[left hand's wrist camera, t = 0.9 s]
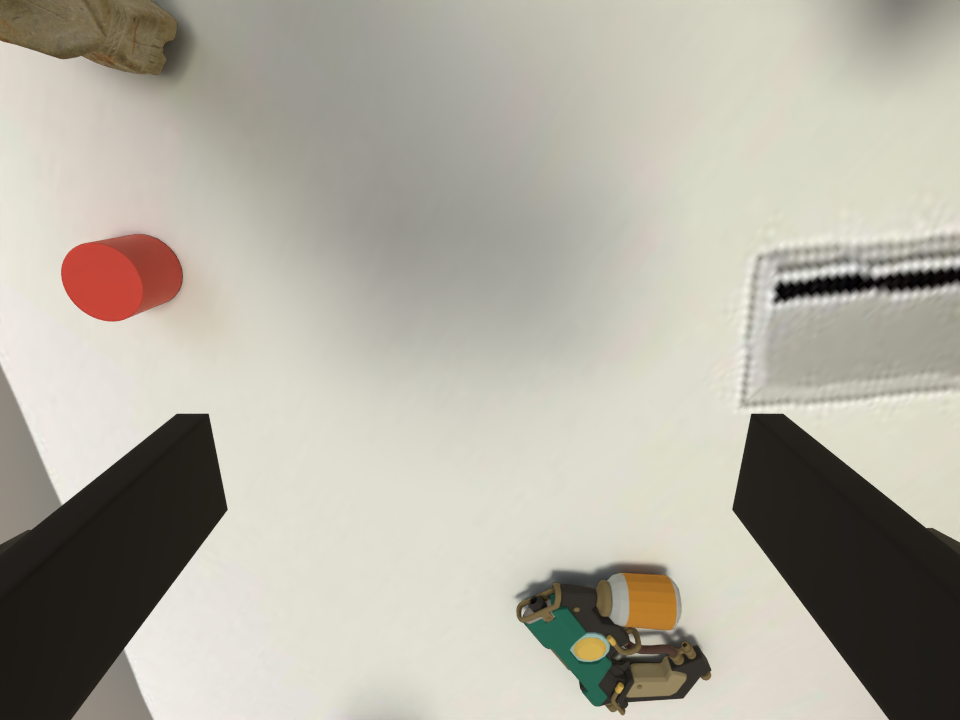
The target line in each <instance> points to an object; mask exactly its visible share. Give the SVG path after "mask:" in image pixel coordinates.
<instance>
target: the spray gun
mask: <svg viewBox="0 0 960 720" xmlns="http://www.w3.org/2000/svg"><path fill="white" fill-rule="evenodd" d="M554 592H555V595H554V594H552V593H554ZM550 594H552V595H550ZM548 595H550V599H549V598H548ZM528 604H529V608H527V609H526V611H525V612H524V614H523V617H521V610H522V608H523V607H524V606H525V605H528ZM595 606H596V607H597V608H598V611H599V612H598V611H597V610H596V609H595ZM680 617H681V598H680V593H679V589H678V587H677V585H676V584H675V583H674V581H673V580H672V579H671V578H669V577H668V576H666V575H653V574H634V573H618V574H614V575H612V576H611V577H610V578H609V579H608V580H607V581H606V580H601V581H599V583H598V586H597V587H596V589H593V588H590V587H582V586H574V585H566V584H559V583H553V587H552V588H551V589H549V590H546V591H544V592H542V593H540V594H537V595H535V596H533V597H531V598H528V599H526V600H524V601H522V602H520V603H519V604H518V606H517V618H518V619H519V620H520V621H521V622H522V623H524V624H525V625H526V626H527V628H528V629H529V630H530V631H531V632H532V633H533V635H534V636H535V637H536V638H537V639H538V641H539V642H540V643H541V644H542V645H543V646H544V647H545V648H547V649H551V650H552V651H553V653H554V654H555V655H556V656H557V657H558V658H559V660H560V661H561V662H562V663H563V664H564V665H565V666H566V668H567V669H568V670H571V671H572V673H573V674H574V675H575V676H576V677H577V679H578V680H579V684H580V689H581V690H582V692H583V694H584V695H585V696H586V697H587V699H588V700H589V701H590V702H591V703H592V704H593V705H594V706H602V705H606V707H607V708H608V709H609V710H610V711H611V712H615V711H617V710H618V711H619V712H620V714H621V715H624V714H625V708H626V707H627V706H628V702H637V701H652V700H667V699H682V698H684V697H685V695H686V694H687V693H688V692H689V690H690V689H691V688H692V687H693V685H694V684H695V683H696V682H697V680H698V679H699V678H700V677H701V678H702V679H703V680H709V679H710V678H711V673H710V671H711V668H710V666H709V663H708V661H707V658H706V657H705V655H704V654H703V653H702V651H701V650H700V648H699V647H698V645H696V646H693V647H692V646H691V644H690V643H688V642H686V641H683V642H682V643H681V648H680V649H677V648H676V647H672V646H669V645H663V644H662V645H641V640H640V636H639V634H638V632H637V629H635V628H645V629H657V630H672V629H674V628H675V626H676V625H677V623H678V621H679V620H680ZM623 627H629V628H627V629H624V628H623ZM632 627H633V628H632ZM630 633H633V635H634V638H635V642H636V644H634V643H632V642H630V640H629V636H628V634H630ZM621 646H624V647H625V648H627V649H623V648H621ZM616 650H617V651H618V652H619V653H620V654H622V655H632V654H635V653H639V654H661V653H667V654H668V655H669V656H666V657H664V659H663V660H662V662H661V663H639V664H631V665H630V664H629V659H625V660H624V661H622V662H617V661H613V660H611V656H612V655H613V654H614V653H615V652H616ZM618 703H619V704H618Z"/></svg>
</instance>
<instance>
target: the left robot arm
mask: <svg viewBox="0 0 960 720" xmlns="http://www.w3.org/2000/svg"><path fill="white" fill-rule="evenodd" d="M227 510H228V509H227V504H226V499H225V494H224V489H223V484H222V479H221V474H220V469H219V464H218V458H217V453H216V448H215V443H214V438H213V433H212V428H211V423H210V418H209V414H176V415H175V416H174V417H172V418H171V419H170V420H169V421H167V422H166V423H165V424H164V425H162V426H161V427H160V428H159V429H157V430H156V431H155V432H154V433H152V434H151V435H150V436H149V437H147V438H146V439H145V440H144V441H142V442H141V443H140V444H139V445H137V446H136V447H135V448H134V449H132V450H131V451H130V452H129V453H127V454H126V455H125V456H124V457H122V458H121V459H120V460H119V461H117V462H116V463H115V464H114V465H112V466H111V467H110V468H109V469H107V470H106V471H105V472H104V473H102V474H101V475H100V476H99V477H97V478H96V479H95V480H94V481H92V482H91V483H90V484H89V485H87V486H86V487H85V488H83V489H82V490H81V491H80V492H78V493H77V494H76V495H75V496H73V497H72V498H71V499H70V500H68V501H67V502H66V503H65V504H63V505H62V506H61V507H60V508H58V509H57V510H56V511H55V512H53V513H52V514H51V515H50V516H48V517H47V518H46V519H45V520H43V521H42V522H41V523H40V524H38V525H37V526H36V527H35V528H33V529H32V530H27V531H25V532H23V533H21V534H20V535H18V536H16V537H14V538H12V539H10V540H8V541H6V542H5V543H3V544H1V545H0V720H71V719H72V718H73V716H74V715H75V714H76V712H77V711H78V709H79V708H80V707H81V705H82V704H83V703H84V701H85V700H86V699H87V697H88V696H89V695H90V693H91V692H92V691H93V689H94V688H95V687H96V685H97V684H98V683H99V681H100V680H101V679H102V677H103V676H104V675H105V673H106V672H107V671H108V669H109V668H110V667H111V665H112V664H113V663H114V661H115V660H116V659H117V657H118V656H119V655H120V653H121V652H122V651H123V649H124V648H125V647H126V645H127V644H128V642H129V641H130V640H131V638H132V637H133V636H134V634H135V633H136V632H137V630H138V629H139V628H140V626H141V625H142V624H143V622H144V621H145V620H146V618H147V617H148V616H149V614H150V613H151V612H152V610H153V609H154V608H155V606H156V605H157V604H158V602H159V601H160V600H161V598H162V597H163V596H164V594H165V593H166V592H167V590H168V589H169V588H170V586H171V585H172V584H173V582H174V581H175V580H176V578H177V577H178V576H179V574H180V573H181V571H182V570H183V569H184V567H185V566H186V565H187V563H188V562H189V561H190V559H191V558H192V557H193V555H194V554H195V553H196V551H197V550H198V549H199V547H200V546H201V545H202V543H203V542H204V541H205V539H206V538H207V537H208V535H209V534H210V533H211V531H212V530H213V529H214V527H215V526H216V525H217V523H218V522H219V521H220V519H221V518H222V517H223V515H224V514H225V513H226V511H227ZM732 510H733V511H734V513H735V514H736V515H737V517H738V518H739V519H740V521H741V522H742V523H743V525H744V526H745V527H746V529H747V530H748V531H749V533H750V534H751V535H752V537H753V538H754V539H755V541H756V542H757V543H758V545H759V546H760V547H761V549H762V550H763V551H764V553H765V554H766V555H767V557H768V558H769V559H770V561H771V562H772V563H773V565H774V566H775V567H776V569H777V570H778V571H779V573H780V574H781V576H782V577H783V578H784V580H785V581H786V582H787V584H788V585H789V586H790V588H791V589H792V590H793V592H794V593H795V594H796V596H797V597H798V598H799V600H800V601H801V602H802V604H803V605H804V606H805V608H806V609H807V610H808V612H809V613H810V614H811V616H812V617H813V618H814V620H815V621H816V622H817V624H818V625H819V626H820V628H821V629H822V630H823V632H824V633H825V634H826V636H827V637H828V638H829V640H830V641H831V642H832V644H833V645H834V647H835V648H836V649H837V651H838V652H839V653H840V655H841V656H842V657H843V659H844V660H845V661H846V663H847V664H848V665H849V667H850V668H851V669H852V671H853V672H854V673H855V675H856V676H857V677H858V679H859V680H860V681H861V683H862V684H863V685H864V687H865V688H866V689H867V691H868V692H869V693H870V695H871V696H872V697H873V699H874V700H875V701H876V703H877V704H878V705H879V707H880V708H881V709H882V711H883V712H884V714H885V715H886V716H887V718H888V719H889V720H960V542H958V541H956V540H954V539H952V538H950V537H948V536H947V535H945V534H943V533H941V532H939V531H937V530H935V529H933V528H925V527H924V526H923V525H922V524H920V523H919V522H918V521H917V520H915V519H914V518H913V517H912V516H910V515H909V514H908V513H907V512H905V511H904V510H903V509H902V508H900V507H899V506H898V505H897V504H895V503H894V502H893V501H892V500H890V499H889V498H888V497H887V496H885V495H884V494H883V493H882V492H880V491H879V490H878V489H876V488H875V487H874V486H873V485H871V484H870V483H869V482H868V481H866V480H865V479H864V478H863V477H861V476H860V475H859V474H858V473H856V472H855V471H854V470H853V469H851V468H850V467H849V466H848V465H846V464H845V463H844V462H843V461H841V460H840V459H839V458H838V457H836V456H835V455H834V454H833V453H831V452H830V451H829V450H828V449H826V448H825V447H824V446H823V445H821V444H820V443H819V442H818V441H816V440H815V439H814V438H813V437H811V436H810V435H809V434H808V433H806V432H805V431H804V430H803V429H801V428H800V427H799V426H798V425H796V424H795V423H794V422H793V421H791V420H790V419H789V418H788V417H786V416H785V415H784V414H751V418H750V423H749V428H748V433H747V438H746V443H745V448H744V453H743V458H742V463H741V469H740V474H739V479H738V484H737V489H736V494H735V499H734V504H733V509H732Z"/></svg>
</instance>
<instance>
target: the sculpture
mask: <svg viewBox="0 0 960 720" xmlns="http://www.w3.org/2000/svg"><path fill="white" fill-rule="evenodd" d="M177 26H178V23H177V21H176V20H175V19H174V18H173V17H172V16H171V15H169V14H168V13H167V12H165V11H164V10H162V9H161V8H160V7H158V6H157V5H156V4H155V3H154V2H152V1H151V0H0V40H1V41H3V42H7V43H11V44H16V45H19V46H22V47H25V48H29V49H32V50H35V51H38V52H41V53H44V54H47V55H50V56H53V57H56V58H59V59H69V58H75V57H78V56H83V57H85V58H87V59H89V60H92V61H94V62H96V63H99V64H101V65H104V66H107V67H110V68H114V69H118V70H122V71H126V72H132V73H138V74H148V73H150V74H156V75H157V74H160V73H161V71H162V69H163V67H164V65H165V63H166V56H165V55H164V53H163V46H164V44H165V43H166V42H169V41H173V40H174V38H175V35H176V31H177Z"/></svg>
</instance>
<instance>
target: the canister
mask: <svg viewBox="0 0 960 720" xmlns="http://www.w3.org/2000/svg"><path fill="white" fill-rule="evenodd" d="M61 276H62V282H63V285H64V288H65V290H66V292H67V294H68V296H69V297H70V299H71V300H72V301H73V303H74V304H75V305H76V306H77V307H78V308H79V309H81V310H82V311H83V312H85V313H86V314H88V315H90V316H92V317H94V318H97V319H100V320H104V321H121V320H124V319H127V318H129V317H132V316H134V315H136V314H139V313H141V312H144V311H146V310H148V309H151V308H153V307H156V306H158V305H160V304H163V303H165V302H168V301H169V300H171V299H172V298H173V297H175V295H176V294H177V293H178V291H179V289H180V287H181V283H182V270H181V266H180V263H179V261H178V259H177V257H176V255H175V254H174V253H173V251H172V250H171V249H170V248H169V247H168V246H167V245H166V244H164V243H163V242H161V241H160V240H158V239H156V238H154V237H151V236H148V235H143V234H134V235H128V236H123V237H117V238H112V239H106V240H100V241H95V242H89V243H84V244H81V245H78V246H76V247H75V248H73V249H72V250H71V251H70V252H69V253H68V254H67V255H66V257H65V259H64V261H63V264H62V269H61Z"/></svg>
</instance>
